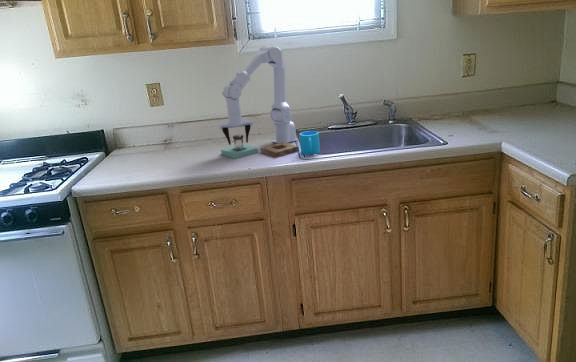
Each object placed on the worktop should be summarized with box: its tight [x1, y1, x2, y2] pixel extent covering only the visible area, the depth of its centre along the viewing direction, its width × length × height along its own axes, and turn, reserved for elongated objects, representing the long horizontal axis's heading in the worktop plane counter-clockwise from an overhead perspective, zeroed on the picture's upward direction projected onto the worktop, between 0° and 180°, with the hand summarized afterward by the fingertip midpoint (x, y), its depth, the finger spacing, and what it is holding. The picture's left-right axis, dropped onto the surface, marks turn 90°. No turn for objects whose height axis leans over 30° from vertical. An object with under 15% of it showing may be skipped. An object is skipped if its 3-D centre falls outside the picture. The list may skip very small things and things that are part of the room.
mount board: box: [260, 142, 300, 158], centre depth 198 cm, size 12×12×2 cm
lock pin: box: [232, 134, 245, 151], centre depth 200 cm, size 5×5×8 cm
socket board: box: [220, 143, 259, 159], centre depth 201 cm, size 12×12×2 cm
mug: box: [299, 130, 321, 155], centre depth 190 cm, size 12×8×8 cm
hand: (238, 143), depth 200 cm, fingers open, 7 cm apart
